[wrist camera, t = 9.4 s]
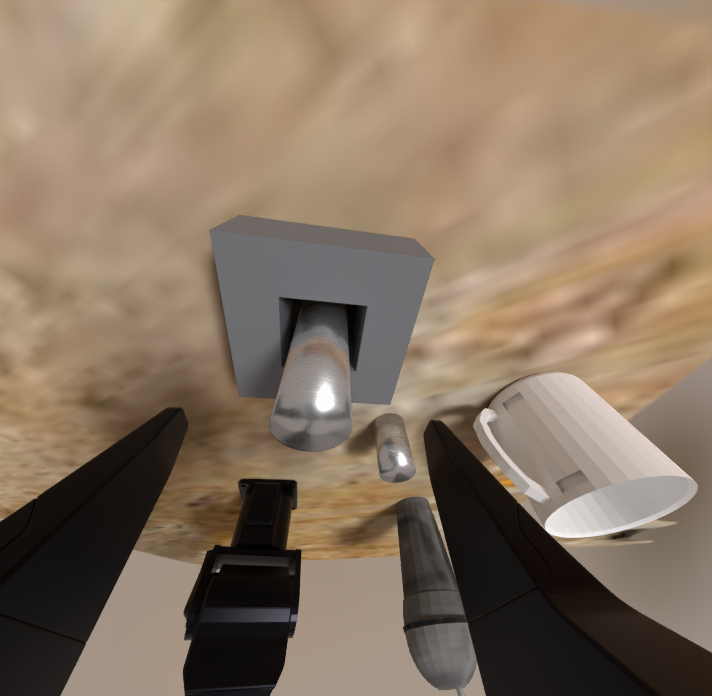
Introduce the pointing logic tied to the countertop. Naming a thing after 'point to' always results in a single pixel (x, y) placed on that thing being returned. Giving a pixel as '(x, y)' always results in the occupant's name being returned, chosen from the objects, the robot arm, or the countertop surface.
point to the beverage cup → (432, 601)
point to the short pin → (393, 449)
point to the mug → (578, 458)
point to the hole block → (317, 297)
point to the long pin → (315, 381)
